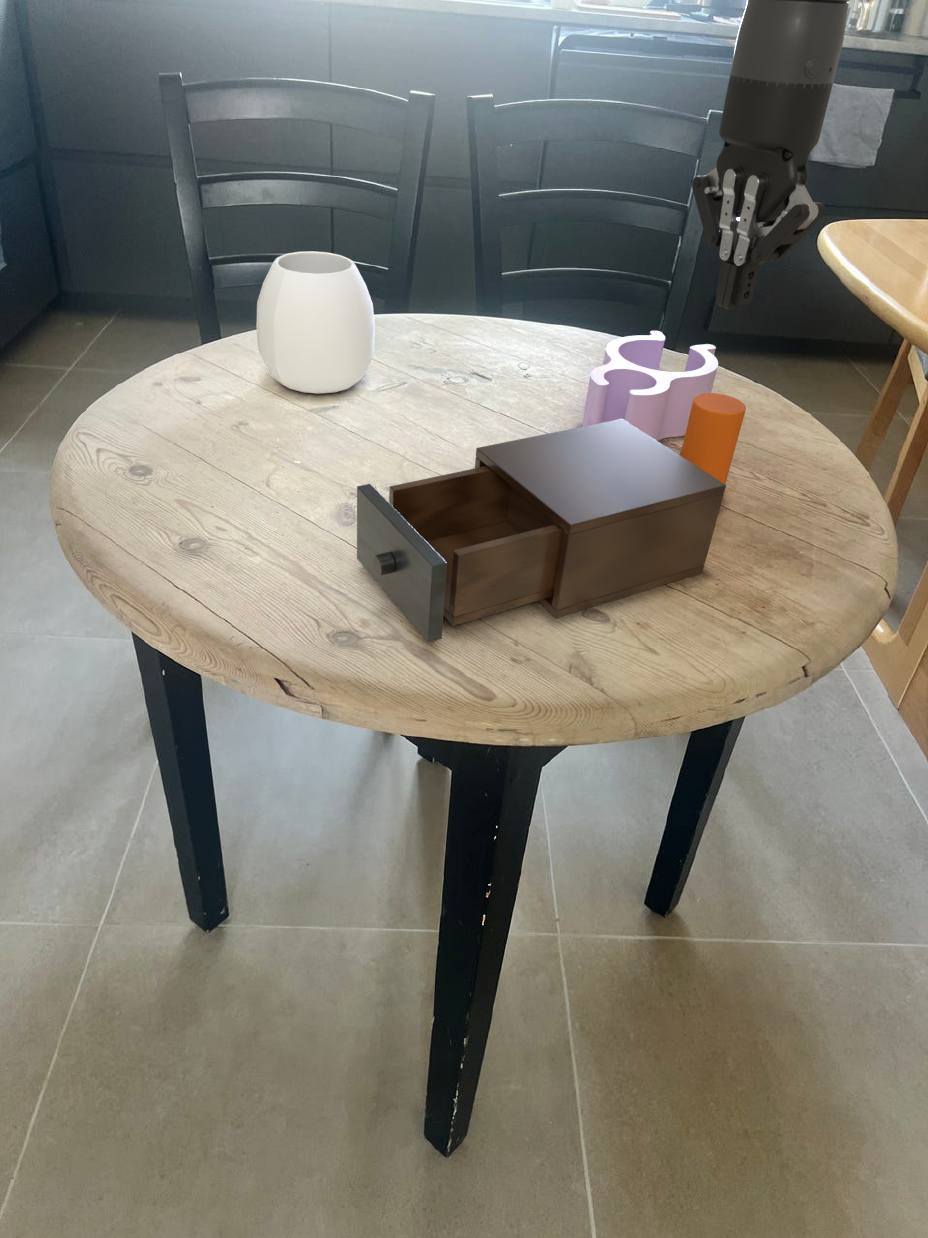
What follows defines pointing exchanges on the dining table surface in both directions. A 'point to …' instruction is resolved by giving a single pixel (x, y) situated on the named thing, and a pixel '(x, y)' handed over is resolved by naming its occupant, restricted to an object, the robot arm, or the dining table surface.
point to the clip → (647, 386)
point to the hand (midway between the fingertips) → (730, 307)
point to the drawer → (456, 547)
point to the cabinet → (612, 509)
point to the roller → (713, 433)
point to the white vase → (315, 322)
